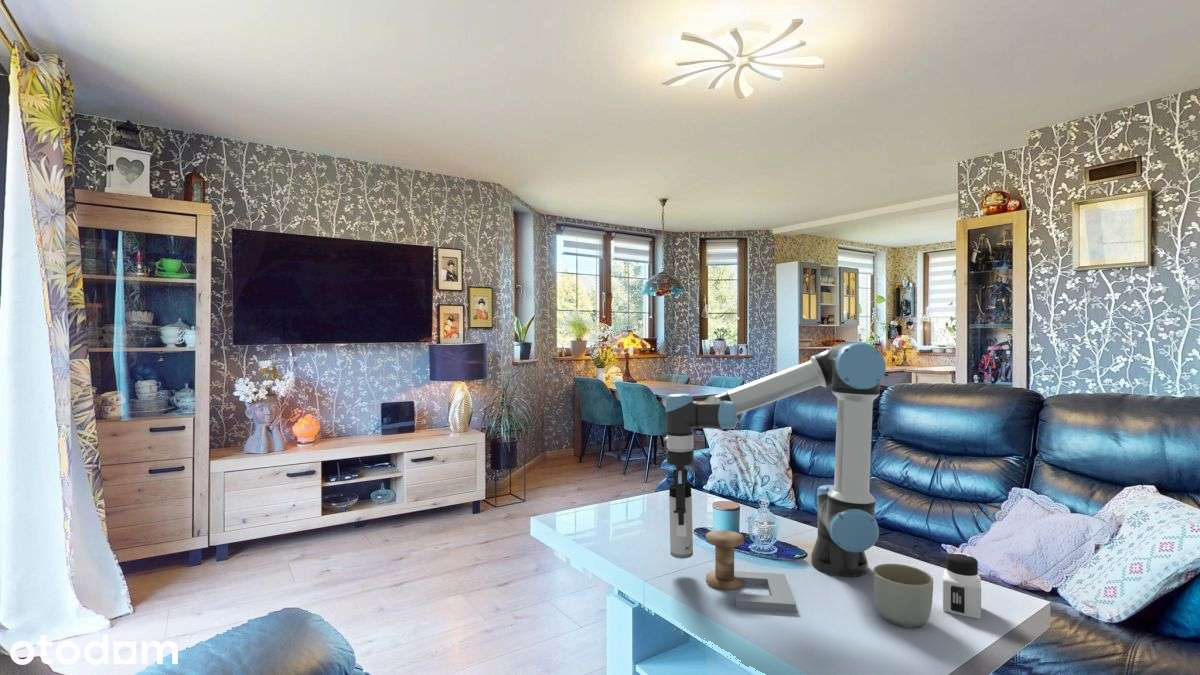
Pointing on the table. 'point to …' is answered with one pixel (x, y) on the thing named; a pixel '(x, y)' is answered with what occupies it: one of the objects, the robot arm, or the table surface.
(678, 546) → the travel mug
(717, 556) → the bobbin
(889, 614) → the planter
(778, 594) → the notched board
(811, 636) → the table surface
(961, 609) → the container
